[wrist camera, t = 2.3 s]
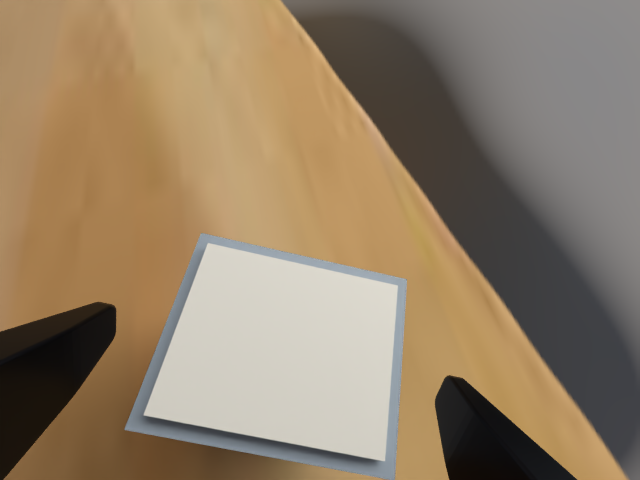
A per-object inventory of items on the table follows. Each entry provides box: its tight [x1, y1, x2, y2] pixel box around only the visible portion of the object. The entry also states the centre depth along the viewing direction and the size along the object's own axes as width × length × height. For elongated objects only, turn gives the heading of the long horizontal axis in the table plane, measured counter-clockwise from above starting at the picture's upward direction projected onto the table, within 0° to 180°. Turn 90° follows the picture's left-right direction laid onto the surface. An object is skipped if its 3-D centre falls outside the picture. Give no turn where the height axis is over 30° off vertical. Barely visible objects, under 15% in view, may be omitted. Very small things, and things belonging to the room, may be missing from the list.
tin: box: [124, 233, 407, 480], centre depth 11 cm, size 4×5×10 cm
